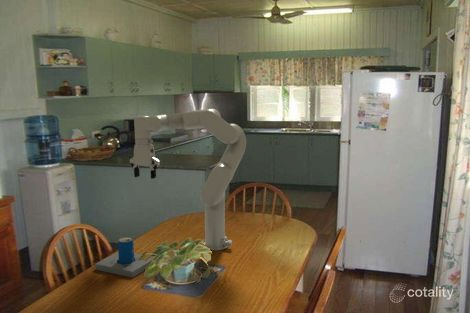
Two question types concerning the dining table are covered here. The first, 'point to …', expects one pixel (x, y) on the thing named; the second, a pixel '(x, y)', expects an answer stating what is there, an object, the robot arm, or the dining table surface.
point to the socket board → (123, 265)
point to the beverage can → (126, 250)
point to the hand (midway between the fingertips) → (145, 177)
